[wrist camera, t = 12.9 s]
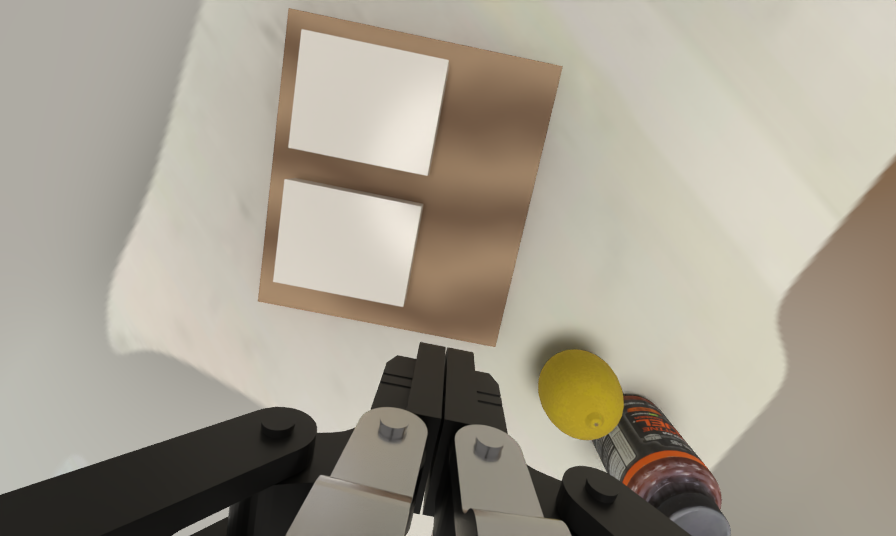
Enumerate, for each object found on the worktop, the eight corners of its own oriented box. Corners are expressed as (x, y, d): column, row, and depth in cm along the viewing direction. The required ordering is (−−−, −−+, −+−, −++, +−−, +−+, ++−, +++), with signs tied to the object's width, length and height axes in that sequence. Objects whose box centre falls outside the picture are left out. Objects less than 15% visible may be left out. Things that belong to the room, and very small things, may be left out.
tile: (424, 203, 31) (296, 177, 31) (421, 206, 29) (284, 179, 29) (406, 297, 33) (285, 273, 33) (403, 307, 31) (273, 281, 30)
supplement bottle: (671, 399, 36) (768, 505, 25) (648, 463, 37) (730, 590, 26) (599, 385, 36) (664, 484, 25) (579, 449, 37) (631, 571, 26)
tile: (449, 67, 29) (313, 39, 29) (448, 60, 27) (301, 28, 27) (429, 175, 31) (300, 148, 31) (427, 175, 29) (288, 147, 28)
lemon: (515, 369, 35) (532, 428, 28) (565, 319, 34) (597, 365, 27) (565, 411, 36) (596, 479, 28) (615, 363, 35) (661, 421, 27)
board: (295, 14, 30) (288, 8, 29) (558, 70, 30) (562, 66, 29) (264, 296, 34) (258, 301, 33) (493, 340, 35) (495, 346, 34)
